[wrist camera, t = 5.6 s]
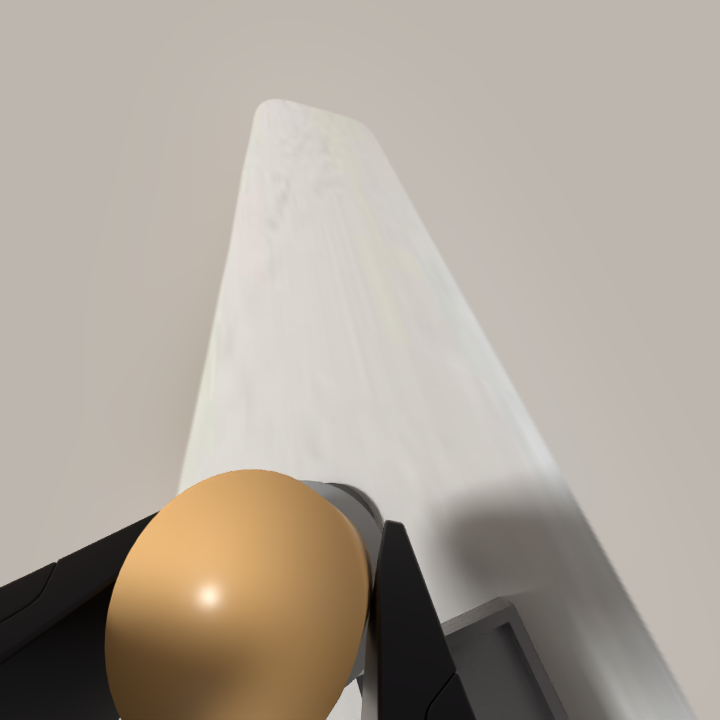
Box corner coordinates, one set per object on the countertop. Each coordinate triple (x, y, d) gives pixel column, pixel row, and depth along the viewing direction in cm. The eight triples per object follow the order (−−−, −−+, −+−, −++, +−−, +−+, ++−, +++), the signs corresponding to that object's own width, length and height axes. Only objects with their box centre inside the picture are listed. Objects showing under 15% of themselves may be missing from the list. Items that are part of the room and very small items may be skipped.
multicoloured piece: (286, 663, 13) (66, 909, 4) (260, 526, 15) (74, 494, 6) (409, 615, 13) (451, 748, 4) (368, 488, 15) (341, 405, 6)
